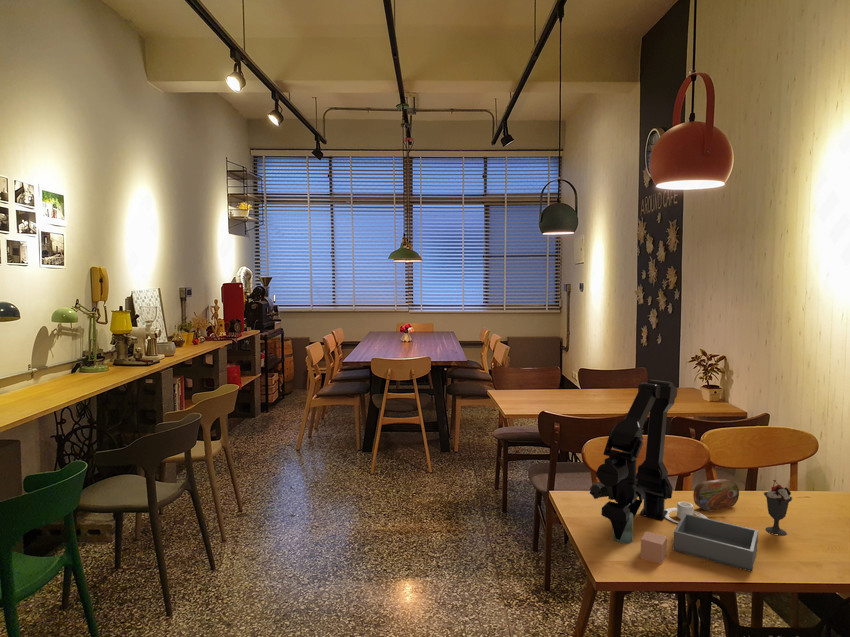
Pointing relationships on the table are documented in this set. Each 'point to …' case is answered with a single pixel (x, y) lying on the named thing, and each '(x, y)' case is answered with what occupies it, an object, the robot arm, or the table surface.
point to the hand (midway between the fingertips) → (622, 532)
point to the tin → (716, 494)
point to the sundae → (777, 506)
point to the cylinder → (626, 532)
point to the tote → (716, 541)
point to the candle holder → (683, 511)
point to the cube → (653, 547)
